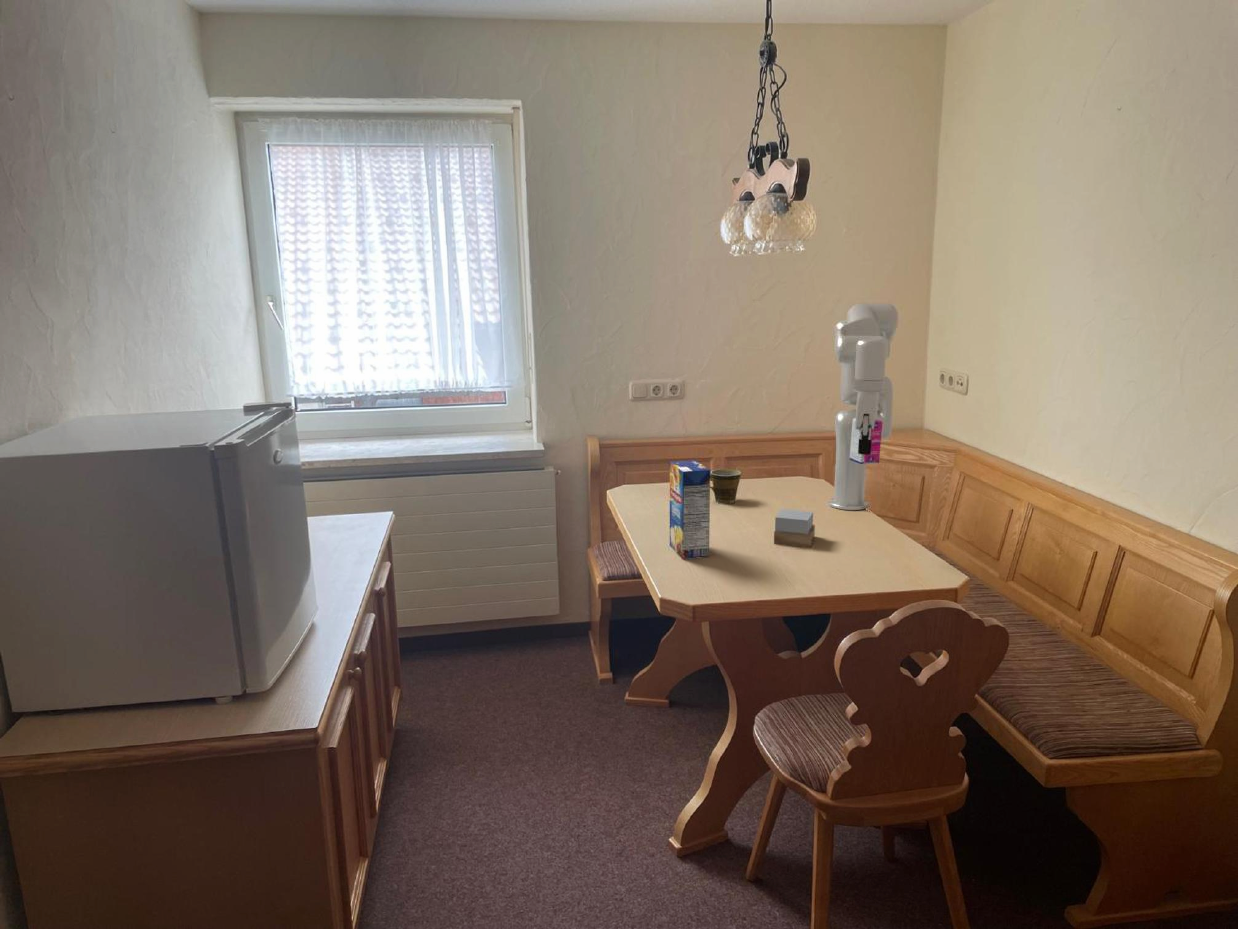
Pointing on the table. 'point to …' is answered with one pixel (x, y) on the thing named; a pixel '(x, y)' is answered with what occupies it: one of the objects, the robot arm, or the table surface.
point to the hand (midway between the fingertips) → (865, 450)
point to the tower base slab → (794, 538)
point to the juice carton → (689, 509)
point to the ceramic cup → (725, 484)
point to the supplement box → (874, 444)
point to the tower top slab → (794, 521)
